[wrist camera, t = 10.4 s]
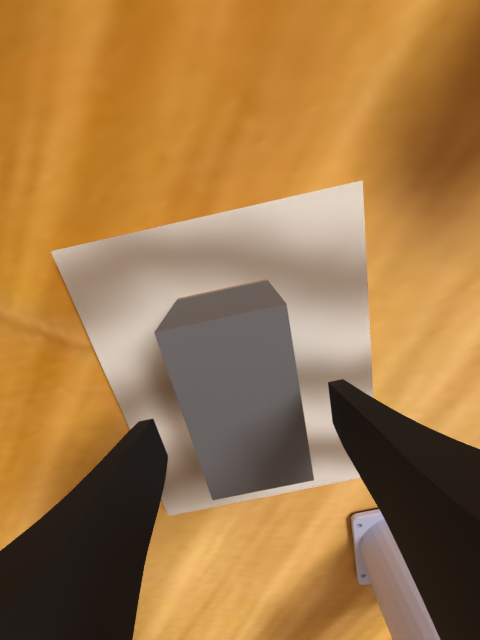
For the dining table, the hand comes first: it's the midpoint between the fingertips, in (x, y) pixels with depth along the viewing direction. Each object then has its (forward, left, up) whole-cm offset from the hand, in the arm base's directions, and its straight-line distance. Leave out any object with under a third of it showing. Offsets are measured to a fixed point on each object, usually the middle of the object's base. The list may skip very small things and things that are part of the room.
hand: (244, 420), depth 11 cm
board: (-2, 0, -7) cm, 7 cm away
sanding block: (0, 0, -6) cm, 6 cm away
